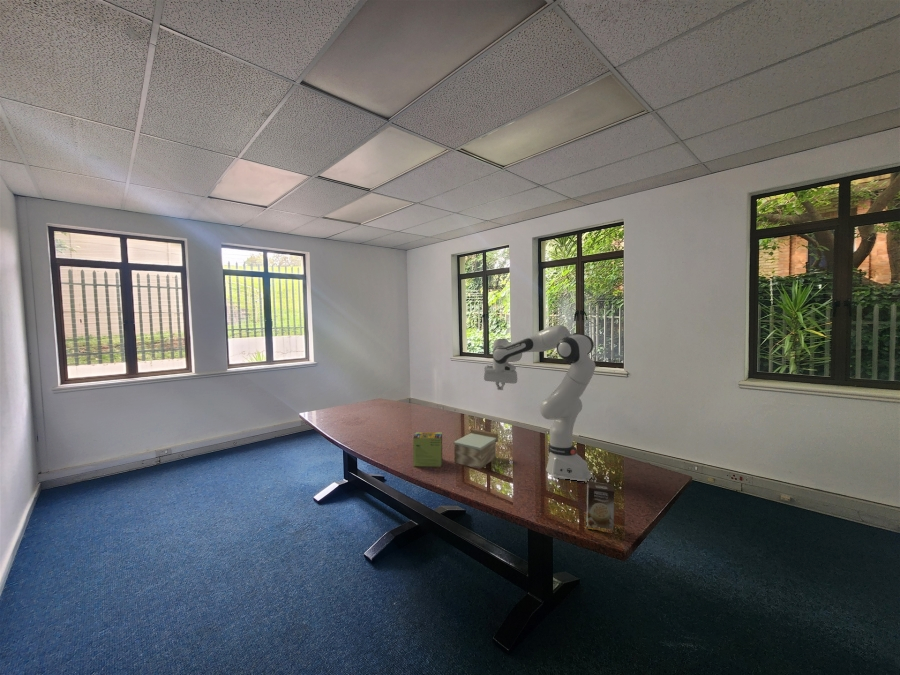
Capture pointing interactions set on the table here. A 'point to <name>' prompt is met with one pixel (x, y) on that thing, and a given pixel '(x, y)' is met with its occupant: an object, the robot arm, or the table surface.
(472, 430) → the lid
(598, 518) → the coffee box
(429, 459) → the protein box
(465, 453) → the crate
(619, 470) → the table surface
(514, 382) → the robot arm
